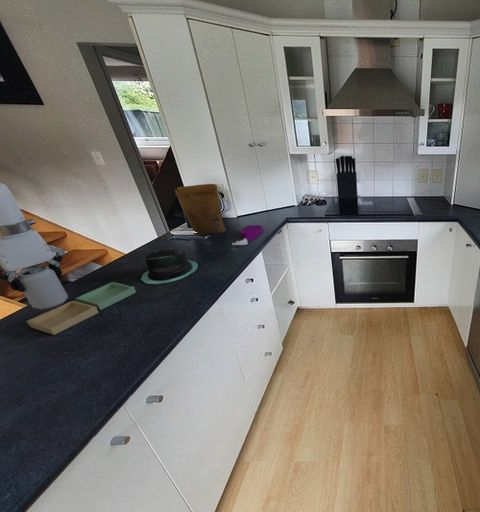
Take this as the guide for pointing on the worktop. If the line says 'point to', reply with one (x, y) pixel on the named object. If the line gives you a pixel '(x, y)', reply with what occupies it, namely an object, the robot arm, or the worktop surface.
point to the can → (42, 287)
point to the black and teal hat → (167, 266)
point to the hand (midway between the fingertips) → (40, 283)
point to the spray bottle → (249, 234)
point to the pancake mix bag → (202, 208)
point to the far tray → (106, 295)
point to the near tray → (62, 317)
